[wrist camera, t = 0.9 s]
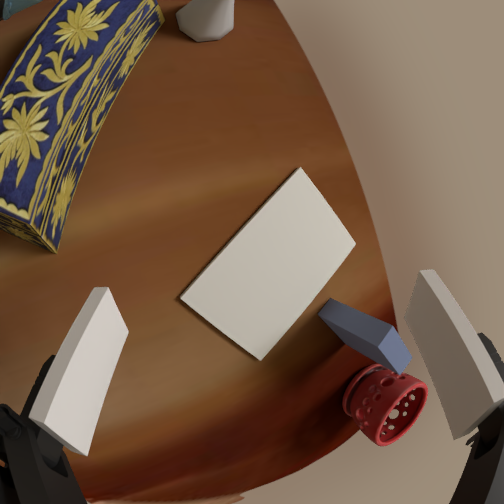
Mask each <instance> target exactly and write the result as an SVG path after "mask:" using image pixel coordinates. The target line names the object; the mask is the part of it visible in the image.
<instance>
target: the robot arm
mask: <svg viewBox="0 0 504 504" xmlns="http://www.w3.org/2000/svg"><path fill="white" fill-rule="evenodd" d="M41 1H43V0H0V21H1V20H7V19H9V18H10V17H11V16H12V15H13V14H15V13H17V12H19V11H21V10H23V9H26V8H28V7H30V6H32V5H35V4H37V3H39V2H41ZM404 318H405V321H406V323H407V325H408V327H409V329H410V331H411V333H412V335H413V337H414V340H415V342H416V344H417V346H418V348H419V350H420V353H421V355H422V357H423V359H424V362H425V364H426V367H427V369H428V371H429V374H430V376H431V378H432V381H433V383H434V386H435V388H436V391H437V393H438V396H439V399H440V401H441V404H442V407H443V409H444V412H445V415H446V418H447V420H448V423H449V426H450V429H451V432H452V435H453V439H454V440H455V439H458V438H460V437H462V436H465V435H467V434H469V433H470V432H471V431H473V430H474V429H475V428H476V427H477V426H478V429H479V431H478V432H477V433H476V434H475V435H473V436H472V437H471V438H470V439H469V440H468V441H467V443H466V445H469V444H470V443H471V442H473V441H474V443H473V444H472V445H471V447H472V449H471V452H470V455H469V458H468V460H467V463H466V466H465V468H464V471H463V473H462V476H461V478H460V481H459V483H458V485H457V488H456V490H455V492H454V495H453V497H452V499H451V501H450V503H449V504H504V363H503V361H501V358H500V356H499V354H498V353H497V350H496V349H495V347H494V345H493V344H492V342H491V340H489V339H488V338H487V337H486V336H485V335H484V334H483V333H479V334H477V333H476V332H475V330H474V328H473V327H472V325H471V323H470V322H469V320H468V319H467V317H466V316H465V314H464V312H463V311H462V309H461V308H460V306H459V305H458V303H457V302H456V300H455V299H454V297H453V296H452V295H451V293H450V292H449V290H448V289H447V287H446V286H445V284H444V283H443V282H442V280H441V279H440V278H439V276H438V275H437V273H436V272H435V271H434V269H430V270H421V271H419V274H418V277H417V280H416V284H415V287H414V290H413V293H412V296H411V299H410V302H409V305H408V308H407V311H406V313H405V316H404ZM128 332H129V331H128V329H127V327H126V325H125V323H124V321H123V319H122V317H121V314H120V312H119V310H118V308H117V306H116V304H115V301H114V299H113V297H112V294H111V292H110V290H109V287H94V289H93V290H92V292H91V294H90V295H89V297H88V299H87V300H86V302H85V304H84V305H83V307H82V309H81V311H80V312H79V314H78V316H77V318H76V319H75V321H74V323H73V325H72V327H71V328H70V330H69V332H68V334H67V336H66V338H65V339H64V341H63V343H62V345H61V347H60V349H59V351H58V353H57V355H51V357H50V358H49V359H48V360H47V361H46V362H45V363H44V364H43V366H42V368H41V370H40V373H39V376H38V377H37V379H36V381H35V385H33V387H32V389H31V392H30V394H29V396H28V398H27V401H26V403H25V405H24V408H23V410H22V412H21V414H20V416H19V415H18V414H17V413H16V412H14V411H13V410H12V409H11V408H10V407H9V406H8V405H6V404H0V460H2V461H3V462H5V467H2V466H0V504H87V502H86V500H85V498H84V496H83V494H82V492H81V489H80V487H79V485H78V483H77V481H76V478H75V476H74V474H73V472H72V469H71V467H70V464H69V462H68V459H67V457H66V454H65V453H64V451H63V450H62V448H63V445H64V446H65V447H67V448H68V449H69V450H71V451H73V452H76V453H79V454H82V455H85V456H88V452H89V448H90V445H91V441H92V437H93V434H94V431H95V427H96V424H97V421H98V417H99V414H100V411H101V408H102V405H103V402H104V399H105V396H106V393H107V390H108V387H109V384H110V381H111V378H112V375H113V372H114V370H115V367H116V364H117V361H118V359H119V356H120V353H121V351H122V348H123V345H124V343H125V340H126V338H127V335H128Z"/></svg>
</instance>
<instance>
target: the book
mask: <svg viewBox="0 0 504 504" xmlns="http://www.w3.org/2000/svg"><path fill="white" fill-rule="evenodd" d="M318 315H319V316H320V318H321V319H322V320H323V321H324V322H325V323H326V324H327V325H328V326H329V327H330V328H331V329H332V330H333V331H334V332H335V333H336V334H337V335H338V337H339V338H340V339H341V340H342V341H343V342H344V343H345V344H347V345H348V346H350V347H352V348H353V349H355V350H357V351H358V352H360V353H362V354H363V355H365V356H367V357H369V358H370V359H372V360H374V361H375V362H377V363H379V364H381V365H382V366H384V367H386V368H388V369H389V370H391V371H393V372H395V373H396V374H398V375H401V373H402V372H403V371H404V369H405V368H406V366H407V365H408V363H409V362H410V360H411V359H412V356H411V354H410V353H409V351H408V349H407V348H406V346H405V345H404V343H403V341H402V340H401V338H400V336H399V335H398V333H397V332H396V330H395V328H394V327H393V326H392V325H390V324H388V323H385V322H383V321H381V320H379V319H376V318H374V317H372V316H370V315H367V314H365V313H363V312H360V311H358V310H356V309H354V308H351V307H349V306H347V305H345V304H343V303H340V302H338V301H336V300H334V299H331V298H330V299H329V300H328V302H327V303H326V304H325V306H324V307H323V308H322V309H321V311H320V312H319V313H318Z"/></svg>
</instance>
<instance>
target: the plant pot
mask: <svg viewBox="0 0 504 504" xmlns="http://www.w3.org/2000/svg"><path fill="white" fill-rule="evenodd" d="M415 388H416V389H415ZM413 389H415V390H413ZM406 394H407V396H406V397H404V396H405V395H406ZM411 394H413V395H414V396H415V400H412V399H411V398H410V396H411ZM427 396H428V388H427V386H426V384H425V383H424V382H422V381H420V380H419V379H417V378H415V377H413V376H410V375H408V374H406V373H403V372H402V373H401V375H398V374H396V373H395V372H393V371H391V370H389V369H388V368H386V367H384V366H382V365H381V364H373V365H370V366H368V367H366V368H364V369H363V370H362V371H360V372H359V373H358V374H357V375H356V376H355V377H354V378H353V379H352V381H351V382H350V384H349V385H348V387H347V389H346V391H345V393H344V396H343V402H342V405H343V410H344V412H345V413H346V414H347V415H349V416H352V417H353V419H354V421H355V423H356V424H357V426H358V427H359V428H360V430H361V431H362V432H363V433H364V434H365V435H366V436H367V437H368V438H369V439H370V440H371V441H373V442H374V443H375V444H377V445H378V446H386V445H389V444H391V443H393V442H395V441H396V440H398V439H399V438H400V437H401V436H403V435H404V434H405V433H406V432H407V431H408V430H409V429H410V428H411V427H412V425H413V424H414V423H415V421H416V420H417V418H418V417H419V415H420V413H421V412H422V410H423V407H424V405H425V402H426V400H427ZM398 402H400V404H399V405H396V404H397V403H398ZM406 402H407V403H408V404H409V405H408V407H405V403H406ZM393 409H397V410H398V411H399V415H398V417H397V418H395V419H390V418H389V416H388V415H389V414H390V412H391V411H392V410H393ZM405 411H406V412H407V415H406V416H403V412H405ZM385 421H386V422H387V424H386V425H383V424H384V422H385ZM390 425H393V426H394V427H395V428H394V429H393V430H390V429H388V427H389V426H390ZM382 432H384V433H385V435H384V434H382Z"/></svg>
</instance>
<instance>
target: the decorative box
mask: <svg viewBox="0 0 504 504" xmlns="http://www.w3.org/2000/svg"><path fill="white" fill-rule="evenodd" d="M164 21H165V18H164V16H163V14H162V11H161V9H160V7H159V5H158V4H157V1H156V0H60V1H59V2H58V3H57V4H56V5H55V6H54V8H53V9H52V10H51V11H50V12H49V14H48V15H47V16H46V17H45V19H44V20H43V21H42V23H41V24H40V25H39V26H38V28H37V29H36V30H35V32H34V33H33V35H32V36H31V37H30V39H29V40H28V42H27V43H26V45H25V46H24V48H23V49H22V51H21V52H20V54H19V55H18V57H17V58H16V60H15V62H14V63H13V65H12V66H11V68H10V70H9V72H8V73H7V75H6V77H5V79H4V80H3V82H2V84H1V86H0V229H1V230H3V231H5V232H7V233H9V234H12V235H14V236H16V237H18V238H20V239H23V240H25V241H27V242H30V243H32V244H34V245H36V246H39V247H41V248H44V249H46V250H48V251H51V252H53V253H56V254H57V251H58V247H59V243H60V239H61V235H62V232H63V228H64V225H65V221H66V218H67V215H68V211H69V208H70V205H71V202H72V199H73V196H74V193H75V190H76V187H77V184H78V182H79V179H80V176H81V174H82V171H83V168H84V166H85V163H86V161H87V158H88V156H89V153H90V151H91V149H92V146H93V144H94V142H95V140H96V137H97V135H98V133H99V131H100V129H101V126H102V124H103V122H104V120H105V118H106V116H107V114H108V112H109V110H110V108H111V106H112V104H113V102H114V100H115V98H116V97H117V95H118V93H119V91H120V89H121V87H122V86H123V84H124V82H125V80H126V79H127V77H128V75H129V74H130V72H131V70H132V69H133V67H134V65H135V64H136V62H137V60H138V59H139V57H140V56H141V54H142V53H143V51H144V50H145V48H146V47H147V45H148V44H149V42H150V41H151V39H152V38H153V36H154V35H155V33H156V32H157V31H158V29H159V28H160V26H161V25H162V24H163V22H164Z"/></svg>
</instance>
